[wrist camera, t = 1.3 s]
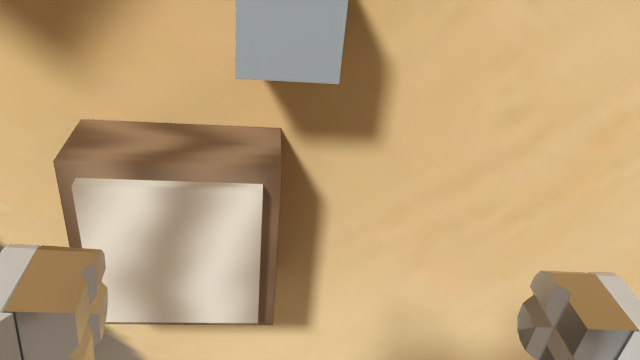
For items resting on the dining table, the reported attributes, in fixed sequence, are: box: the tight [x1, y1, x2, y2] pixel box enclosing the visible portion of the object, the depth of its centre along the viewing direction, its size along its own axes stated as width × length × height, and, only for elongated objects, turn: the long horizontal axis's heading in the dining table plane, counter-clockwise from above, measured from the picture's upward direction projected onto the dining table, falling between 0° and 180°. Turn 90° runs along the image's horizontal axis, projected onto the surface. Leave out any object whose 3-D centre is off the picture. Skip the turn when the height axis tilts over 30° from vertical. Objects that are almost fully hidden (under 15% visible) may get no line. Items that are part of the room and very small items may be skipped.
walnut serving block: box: [53, 119, 282, 325], centre depth 35 cm, size 12×12×6 cm
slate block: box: [236, 0, 348, 84], centre depth 28 cm, size 5×5×6 cm
